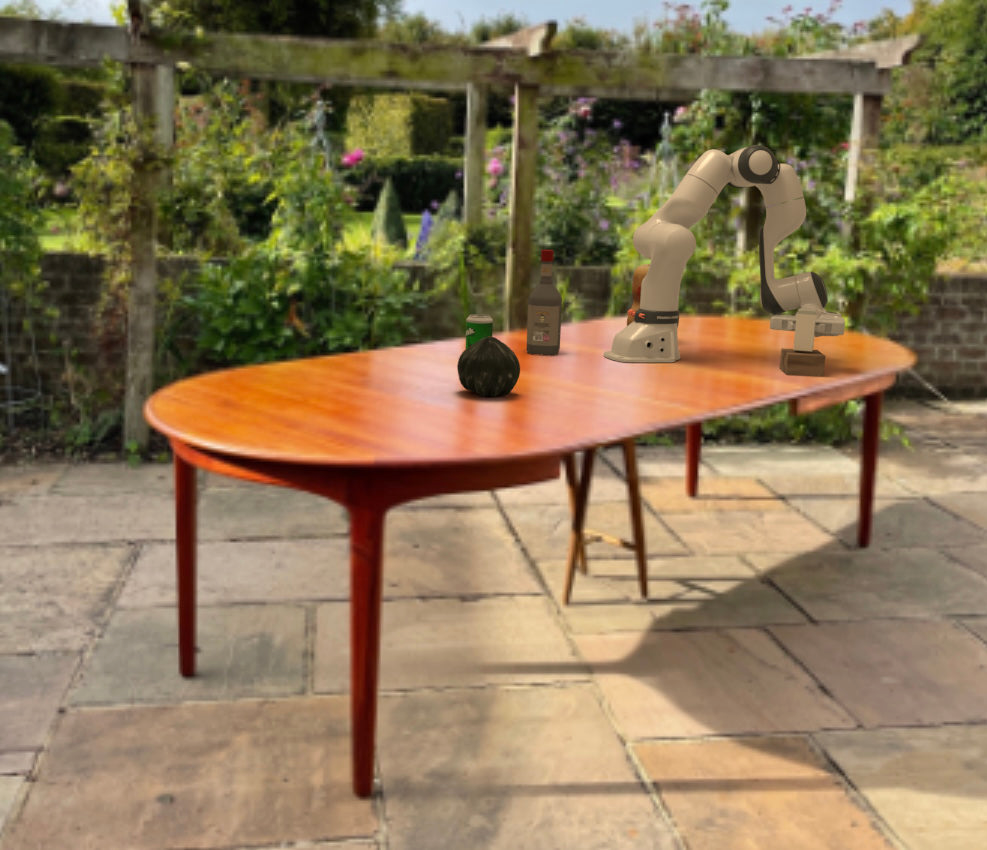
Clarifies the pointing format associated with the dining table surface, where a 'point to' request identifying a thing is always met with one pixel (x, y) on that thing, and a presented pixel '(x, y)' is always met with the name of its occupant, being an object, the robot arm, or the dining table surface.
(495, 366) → the squash
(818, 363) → the walnut block
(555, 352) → the liquor
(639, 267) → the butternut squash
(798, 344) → the tall cream box
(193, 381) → the dining table surface
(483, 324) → the soda can
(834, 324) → the robot arm
